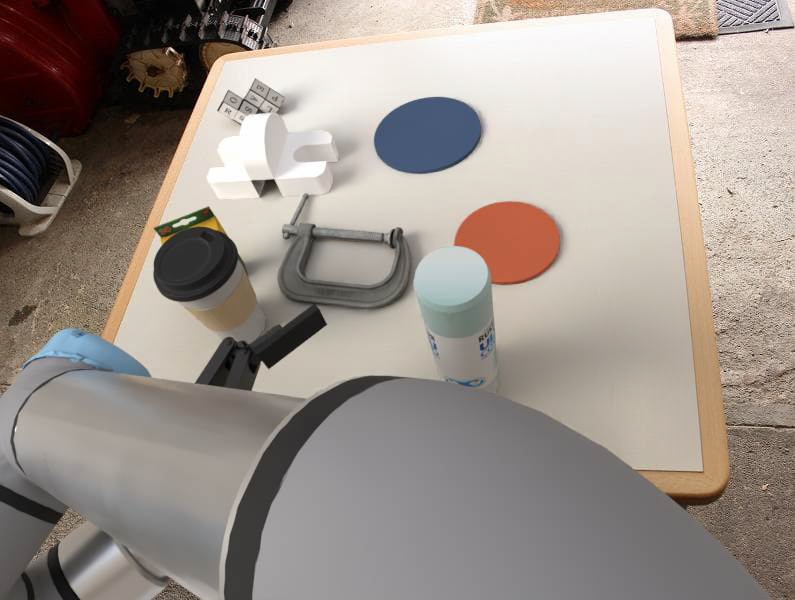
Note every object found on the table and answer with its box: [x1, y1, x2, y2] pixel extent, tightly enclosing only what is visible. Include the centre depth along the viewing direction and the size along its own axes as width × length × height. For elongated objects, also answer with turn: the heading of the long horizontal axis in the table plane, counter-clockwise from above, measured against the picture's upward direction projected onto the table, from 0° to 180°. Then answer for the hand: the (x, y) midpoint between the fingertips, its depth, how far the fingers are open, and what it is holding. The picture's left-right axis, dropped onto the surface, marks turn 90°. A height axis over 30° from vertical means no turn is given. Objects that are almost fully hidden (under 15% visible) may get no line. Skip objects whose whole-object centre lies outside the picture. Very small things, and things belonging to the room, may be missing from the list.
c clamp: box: [277, 193, 412, 309], centre depth 80 cm, size 20×17×3 cm
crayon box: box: [153, 205, 249, 277], centre depth 77 cm, size 7×3×12 cm, turn 112°
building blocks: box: [216, 77, 286, 127], centre depth 98 cm, size 5×5×8 cm
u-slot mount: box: [206, 112, 340, 201], centre depth 88 cm, size 18×10×10 cm, turn 84°
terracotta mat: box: [454, 200, 561, 286], centre depth 77 cm, size 13×13×1 cm
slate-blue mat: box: [373, 96, 482, 175], centre depth 91 cm, size 16×16×1 cm
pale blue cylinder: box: [413, 245, 500, 394], centre depth 59 cm, size 6×6×20 cm
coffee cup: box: [152, 227, 267, 344], centre depth 71 cm, size 9×9×15 cm
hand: (366, 362), depth 51 cm, fingers open, 13 cm apart
